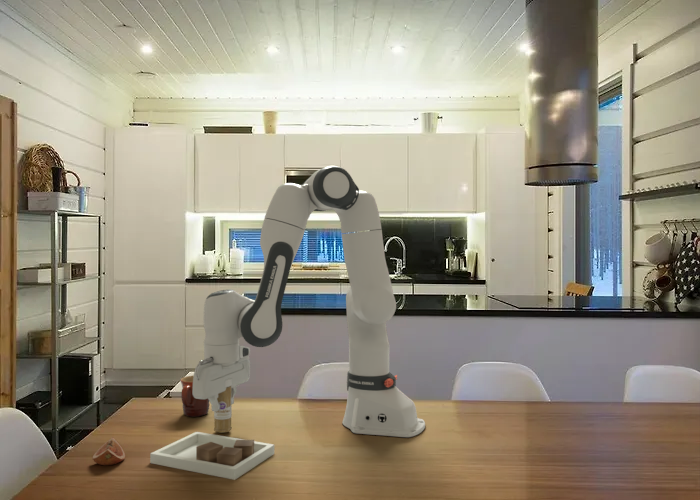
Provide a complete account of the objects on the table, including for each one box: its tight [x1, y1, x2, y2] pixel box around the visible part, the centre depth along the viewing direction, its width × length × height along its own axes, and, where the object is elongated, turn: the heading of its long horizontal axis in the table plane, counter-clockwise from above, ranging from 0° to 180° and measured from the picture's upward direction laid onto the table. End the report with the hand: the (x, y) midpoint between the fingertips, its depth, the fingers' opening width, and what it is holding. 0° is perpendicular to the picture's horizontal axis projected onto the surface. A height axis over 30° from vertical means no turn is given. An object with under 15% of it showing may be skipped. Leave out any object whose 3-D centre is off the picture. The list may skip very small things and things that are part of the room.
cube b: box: [196, 442, 223, 463], centre depth 126 cm, size 4×4×4 cm
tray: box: [149, 431, 275, 481], centre depth 130 cm, size 22×16×3 cm
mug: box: [180, 374, 211, 418], centre depth 164 cm, size 12×9×10 cm
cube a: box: [217, 447, 242, 466], centre depth 123 cm, size 4×4×4 cm
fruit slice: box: [91, 436, 126, 466], centre depth 127 cm, size 8×7×5 cm
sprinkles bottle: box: [213, 378, 233, 434], centre depth 147 cm, size 5×5×13 cm
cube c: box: [234, 439, 255, 461], centre depth 128 cm, size 4×4×4 cm
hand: (222, 407), depth 147 cm, fingers closed on sprinkles bottle, 4 cm apart
